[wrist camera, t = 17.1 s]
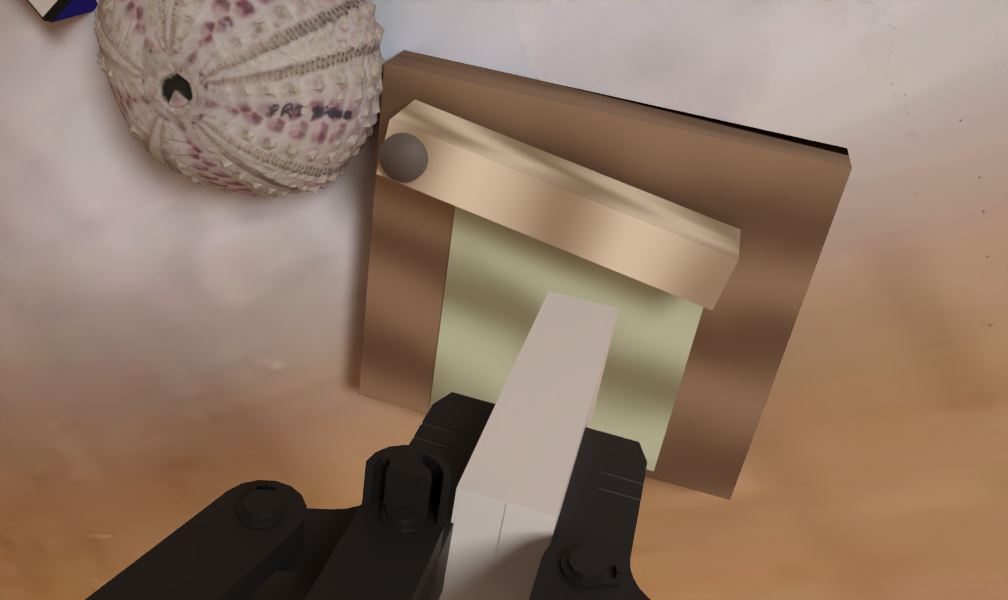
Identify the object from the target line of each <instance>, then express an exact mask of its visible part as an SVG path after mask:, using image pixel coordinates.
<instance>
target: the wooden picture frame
mask: <svg viewBox="0 0 1008 600" xmlns="http://www.w3.org/2000/svg"><path fill="white" fill-rule="evenodd" d="M382 87H383V90H382V96H381V109H380V122H379V135H378V149H377V162H376V173H377V169H378V165H379V149H380V147H381V145H382V143H383V142H384V141H385V137H386V133H387V129H388V125H389V120H390V119H391V118H392V117H394V116H395V115H396V114H397V113H399V112H400V111H401V110H402V109H404V108H405V107H406V106H407V105H409V104H410V103H411V102H412V101H414V100H417V101H420V102H422V103H425V104H427V105H430V106H432V107H435V108H437V109H440V110H442V111H445V112H447V113H450V114H452V115H455V116H457V117H460V118H462V119H465V120H467V121H470V122H472V123H475V124H477V125H480V126H482V127H485V128H487V129H490V130H492V131H495V132H497V133H500V134H502V135H505V136H507V137H510V138H512V139H515V140H517V141H520V142H522V143H525V144H527V145H530V146H532V147H535V148H537V149H540V150H542V151H545V152H547V153H550V154H552V155H555V156H557V157H560V158H562V159H565V160H567V161H570V162H572V163H575V164H577V165H580V166H582V167H585V168H587V169H590V170H592V171H595V172H597V173H600V174H602V175H605V176H607V177H610V178H612V179H615V180H617V181H620V182H622V183H625V184H627V185H630V186H632V187H635V188H637V189H640V190H642V191H645V192H647V193H650V194H652V195H655V196H657V197H660V198H662V199H665V200H667V201H670V202H672V203H675V204H677V205H680V206H682V207H685V208H687V209H690V210H692V211H695V212H697V213H700V214H702V215H705V216H707V217H710V218H712V219H715V220H717V221H720V222H722V223H725V224H727V225H730V226H732V227H735V228H737V229H740V230H741V233H740V247H739V260H738V262H737V264H736V266H735V268H734V270H733V272H732V274H731V276H730V277H729V279H728V281H727V283H726V285H725V287H724V289H723V291H722V293H721V295H720V297H719V299H718V300H717V302H716V304H715V306H714V308H713V310H710V309H707V308H705V307H702V306H700V305H697V304H695V303H692V302H690V301H687V300H685V299H683V298H680V297H678V296H675V295H673V294H670V293H668V292H665V291H663V290H660V289H658V288H656V287H653V286H651V285H648V284H646V283H643V282H641V281H638V280H636V279H633V278H631V277H629V276H626V275H624V274H621V273H619V272H616V271H614V270H611V269H609V268H606V267H604V266H602V265H599V264H597V263H594V262H592V261H589V260H587V259H584V258H582V257H579V256H577V255H575V254H572V253H570V252H567V251H565V250H562V249H560V248H557V247H555V246H552V245H550V244H548V243H545V242H543V241H540V240H538V239H535V238H533V237H530V236H528V235H525V234H523V233H521V232H518V231H516V230H513V229H511V228H508V227H506V226H503V225H501V224H498V223H496V222H493V221H491V220H489V219H486V218H484V217H481V216H479V215H476V214H474V213H471V212H469V211H466V210H464V209H462V208H459V207H457V206H454V205H452V204H449V203H447V202H444V201H442V200H439V199H437V198H435V197H432V196H430V195H427V194H425V193H422V192H420V191H417V190H415V189H412V188H410V187H408V186H405V185H403V184H400V183H398V182H395V181H393V180H390V179H388V178H385V177H383V176H381V175H378V174H376V175H375V188H374V201H373V214H372V227H371V240H370V253H369V266H368V279H367V292H366V305H365V319H364V332H363V345H362V358H361V371H360V384H359V394H360V395H364V396H367V397H371V398H374V399H378V400H381V401H385V402H388V403H392V404H395V405H399V406H402V407H406V408H409V409H413V410H416V411H420V412H423V413H428V411H429V410H430V408H431V406H432V405H433V404H434V403H435V402H437V401H439V400H440V399H442V398H443V397H445V396H447V395H448V394H450V393H451V392H454V393H458V394H461V395H465V396H468V397H472V398H476V399H479V400H483V401H486V402H490V403H494V404H496V402H497V400H498V398H499V396H500V394H501V392H502V390H503V387H504V385H505V383H506V381H507V379H508V377H509V375H510V372H511V370H512V368H513V366H514V364H515V362H516V360H517V357H518V355H519V353H520V351H521V349H522V347H523V345H524V342H525V340H526V338H527V336H528V334H529V332H530V330H531V328H532V325H533V323H534V321H535V319H536V317H537V315H538V313H539V310H540V308H541V306H542V304H543V302H544V300H545V298H546V295H547V293H548V291H552V292H556V293H560V294H563V295H567V296H571V297H575V298H579V299H583V300H587V301H591V302H595V303H599V304H603V305H606V306H610V307H614V308H618V309H619V311H618V315H617V319H616V323H615V327H614V331H613V335H612V339H611V343H610V347H609V351H608V355H607V359H606V363H605V367H604V371H603V375H602V379H601V384H600V388H599V392H598V396H597V400H596V404H595V408H594V412H593V416H592V419H591V423H590V426H589V428H591V429H594V430H598V431H602V432H605V433H609V434H612V435H616V436H620V437H623V438H627V439H630V440H634V441H638V442H639V443H640V445H641V448H642V450H643V453H644V455H645V458H646V460H647V467H646V473H645V476H648V477H651V478H655V479H658V480H662V481H665V482H669V483H672V484H676V485H679V486H683V487H686V488H690V489H693V490H697V491H700V492H704V493H707V494H711V495H714V496H718V497H721V498H725V499H728V500H730V498H731V496H732V493H733V490H734V487H735V485H736V482H737V479H738V476H739V474H740V471H741V468H742V466H743V463H744V460H745V457H746V455H747V452H748V449H749V447H750V444H751V441H752V438H753V436H754V433H755V430H756V427H757V425H758V422H759V419H760V417H761V414H762V411H763V408H764V406H765V403H766V400H767V398H768V395H769V392H770V389H771V387H772V384H773V381H774V378H775V376H776V373H777V370H778V368H779V365H780V362H781V359H782V357H783V354H784V351H785V349H786V346H787V343H788V340H789V338H790V335H791V332H792V329H793V327H794V324H795V321H796V319H797V316H798V313H799V310H800V308H801V305H802V302H803V300H804V297H805V294H806V291H807V289H808V286H809V283H810V280H811V278H812V275H813V272H814V270H815V267H816V264H817V261H818V259H819V256H820V253H821V251H822V248H823V245H824V242H825V240H826V237H827V234H828V231H829V229H830V226H831V223H832V221H833V218H834V215H835V212H836V210H837V207H838V204H839V202H840V199H841V196H842V193H843V191H844V188H845V185H846V182H847V180H848V177H849V174H850V172H851V169H852V167H851V163H850V159H849V154H848V150H847V148H843V147H839V146H834V145H830V144H825V143H821V142H816V141H812V140H807V139H802V138H798V137H793V136H789V135H784V134H780V133H775V132H771V131H766V130H762V129H757V128H753V127H748V126H744V125H739V124H735V123H730V122H726V121H721V120H717V119H712V118H708V117H703V116H699V115H694V114H689V113H685V112H680V111H676V110H671V109H667V108H662V107H658V106H653V105H649V104H644V103H640V102H635V101H631V100H626V99H622V98H617V97H613V96H608V95H604V94H599V93H595V92H590V91H586V90H581V89H577V88H572V87H567V86H563V85H558V84H554V83H549V82H545V81H540V80H536V79H531V78H527V77H522V76H518V75H513V74H509V73H504V72H500V71H495V70H491V69H486V68H482V67H477V66H473V65H468V64H464V63H459V62H455V61H450V60H445V59H441V58H436V57H432V56H427V55H423V54H418V53H414V52H409V51H405V50H404V51H402V52H401V53H399V54H398V55H396V56H395V57H393V58H391V59H390V60H388V61H387V62H385V63H384V70H383V83H382Z"/></svg>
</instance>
